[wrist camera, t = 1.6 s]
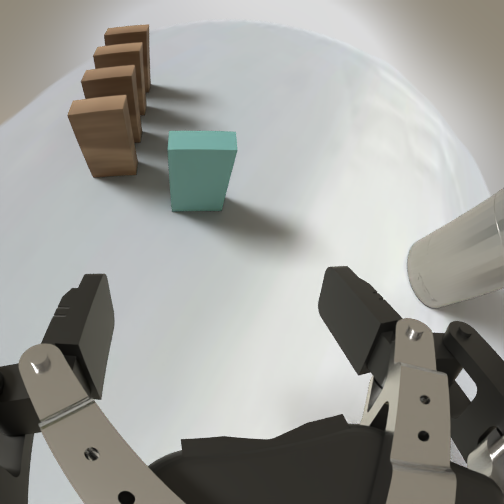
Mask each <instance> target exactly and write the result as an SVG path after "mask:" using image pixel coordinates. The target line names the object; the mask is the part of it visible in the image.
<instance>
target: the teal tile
mask: <svg viewBox="0 0 504 504" xmlns="http://www.w3.org/2000/svg"><path fill="white" fill-rule="evenodd" d="M236 153H237V140H236V132H227V131H169V138H168V166H169V181H170V195H171V207H172V212H173V211H222V207H223V203H224V199H225V195H226V191H227V188H228V184H229V180H230V176H231V172H232V168H233V165H234V161H235V157H236Z"/></svg>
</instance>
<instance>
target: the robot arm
mask: <svg viewBox="0 0 504 504" xmlns="http://www.w3.org/2000/svg"><path fill="white" fill-rule="evenodd" d="M407 271H408V276H409V280H410V283H411V286H412V288H413V290H414V292H415V294H416V295H417V297H418V298H419V300H421V301H422V302H423V303H424V304H425V305H427V306H429V307H431V308H440V307H444V306H448V305H451V304H455V303H458V302H462V301H465V300H469V299H472V298H475V297H478V296H481V295H485V294H488V293H491V292H494V291H497V290H500V289H502V288H504V188H503V189H501V190H500V191H499V192H497V193H496V194H494V195H493V196H491V197H489V198H488V199H486V200H485V201H483V202H482V203H480V204H479V205H477V206H475V207H474V208H472V209H471V210H469V211H467V212H466V213H464V214H463V215H461V216H459V217H458V218H456V219H454V220H453V221H451V222H449V223H448V224H446V225H444V226H443V227H441V228H439V229H437V230H436V231H434V232H432V233H430V234H429V235H427V236H425V237H424V238H422V239H420V240H418V241H417V242H415V243H414V244H413V245H412V247H411V249H410V251H409V255H408V260H407ZM318 309H319V314H320V316H321V318H322V319H323V321H324V323H325V324H326V326H327V327H328V329H329V330H330V332H331V333H332V335H333V336H334V338H335V340H336V341H337V343H338V344H339V346H340V347H341V349H342V351H343V352H344V354H345V355H346V357H347V358H348V360H349V362H350V363H351V365H352V366H353V368H354V369H355V371H356V373H357V374H358V375H362V374H366V373H370V372H371V373H372V375H373V376H372V378H371V380H370V382H369V387H368V392H367V397H366V402H365V407H364V411H363V416H362V420H361V422H360V424H348V423H347V422H346V420H345V418H344V416H343V414H341V415H337V416H333V417H329V418H325V419H321V420H317V421H313V422H309V423H306V424H304V425H302V426H300V427H298V428H295V429H293V430H291V431H289V432H287V433H284V434H282V435H280V436H278V437H275V438H273V439H267V440H265V439H248V438H236V437H226V436H222V437H211V438H197V439H181V444H182V450H180V451H177V452H173V453H171V454H168V455H166V456H164V457H162V458H160V459H158V460H156V461H155V462H153V463H152V464H150V465H149V466H147V465H146V464H145V463H144V462H143V461H142V460H141V459H140V458H139V456H138V455H137V454H136V453H135V452H134V451H133V450H132V448H131V447H130V446H129V445H128V444H127V443H126V441H125V440H124V439H123V438H122V436H121V435H120V434H119V433H118V432H117V430H116V429H115V428H114V426H113V425H112V424H111V423H110V421H109V420H108V419H107V417H106V416H105V415H104V413H103V412H102V411H101V409H100V408H99V406H98V405H97V404H96V402H95V401H94V400H93V399H98V400H101V398H102V391H103V384H104V378H105V372H106V366H107V360H108V355H109V350H110V345H111V340H112V335H113V330H114V310H113V305H112V301H111V295H110V290H109V285H108V279H107V276H106V274H85V275H84V277H83V279H82V281H81V283H80V285H79V287H78V288H72V289H71V290H70V291H68V292H67V293H66V294H65V295H64V296H63V297H62V299H61V301H60V303H59V305H58V308H57V309H56V311H55V313H54V316H53V318H52V320H51V322H50V324H49V327H48V329H47V331H46V333H45V336H44V338H43V340H42V343H41V344H38V345H35V346H32V347H31V348H29V349H28V350H26V351H25V352H24V353H23V355H22V356H21V358H20V360H19V363H18V364H13V365H7V366H2V367H0V504H28V485H29V471H30V461H31V452H32V444H33V437H34V433H39V432H42V434H43V436H44V438H45V440H46V442H47V444H48V446H49V448H50V449H51V451H52V453H53V455H54V457H55V459H56V460H57V462H58V464H59V465H60V467H61V469H62V470H63V472H64V474H65V475H66V477H67V479H68V480H69V482H70V483H71V485H72V486H73V488H74V489H75V491H76V492H77V494H78V495H79V497H80V498H81V499H82V501H83V502H84V504H504V361H503V360H502V359H501V357H500V356H499V355H498V354H497V353H496V352H495V351H494V350H493V349H492V347H491V346H490V345H489V344H488V343H487V342H486V341H485V340H484V339H483V338H482V337H481V336H480V335H479V334H478V332H477V331H476V330H475V329H474V328H472V327H471V326H470V325H468V324H466V323H464V322H460V321H453V322H451V323H450V324H449V326H448V328H447V330H446V332H445V333H432V331H431V330H430V328H429V327H428V326H427V325H425V324H424V323H422V322H420V321H418V320H415V319H411V318H405V319H402V318H401V316H400V315H399V314H398V313H397V312H396V311H395V310H394V309H393V308H392V307H391V306H390V305H389V304H388V303H387V302H386V300H383V297H382V296H381V295H380V294H379V293H377V291H376V290H375V289H374V288H373V287H372V286H371V285H370V284H369V283H367V282H365V281H364V280H362V279H360V278H359V277H358V276H357V275H356V274H355V273H354V272H353V271H352V270H351V269H350V268H349V267H347V266H338V267H328V268H327V269H326V272H325V275H324V280H323V284H322V289H321V293H320V297H319V302H318ZM463 368H464V369H465V371H466V372H467V373H468V374H469V376H470V377H471V378H472V380H473V381H474V382H475V384H476V386H477V394H476V397H475V398H474V399H473V401H472V402H470V400H469V399H468V397H467V396H466V395H465V393H464V392H463V391H462V389H461V388H460V386H459V385H458V384H457V382H456V381H455V379H456V378H457V376H458V375H459V373H460V372H461V370H462V369H463ZM450 436H451V438H452V440H453V441H454V443H455V445H456V446H457V448H458V450H459V451H460V453H461V455H462V456H463V458H464V460H465V462H466V463H467V465H468V467H467V468H466V467H463V466H460V465H458V464H455V463H453V462H450Z"/></svg>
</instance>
